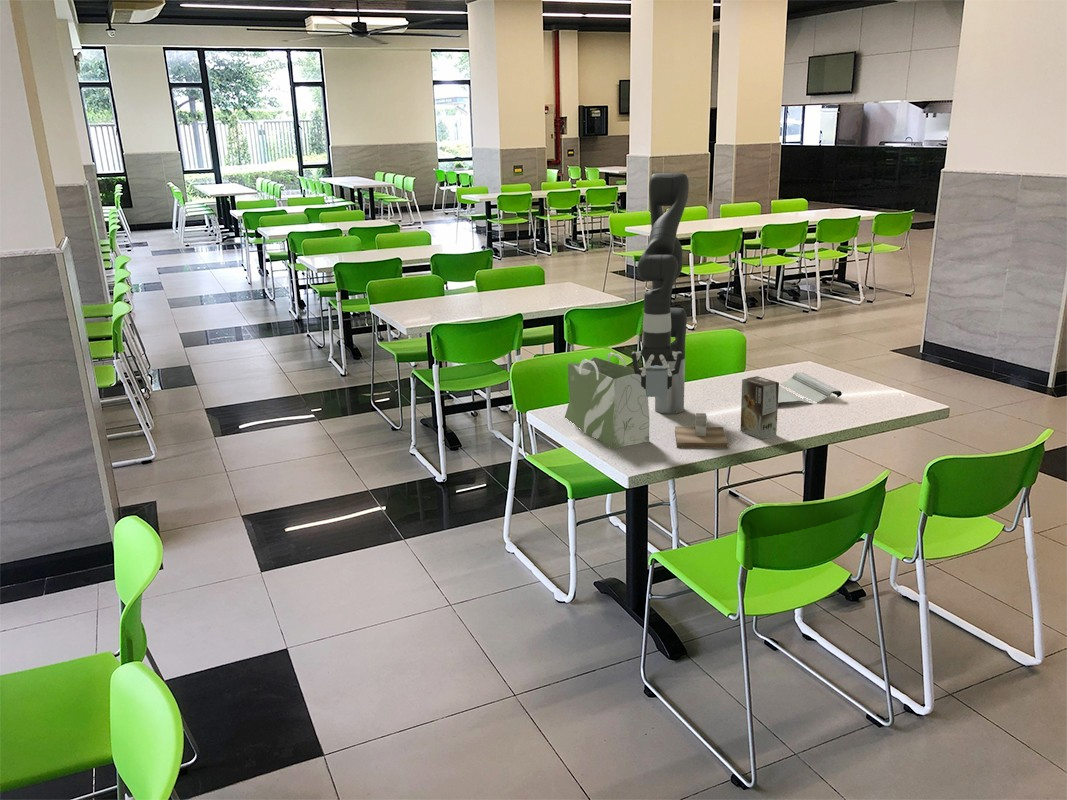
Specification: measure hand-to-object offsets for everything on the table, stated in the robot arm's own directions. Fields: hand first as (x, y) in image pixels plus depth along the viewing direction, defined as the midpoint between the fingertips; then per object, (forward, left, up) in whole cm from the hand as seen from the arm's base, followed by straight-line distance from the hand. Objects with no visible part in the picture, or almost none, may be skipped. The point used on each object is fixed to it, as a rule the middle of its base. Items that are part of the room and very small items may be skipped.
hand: (656, 388), depth 227 cm
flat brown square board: (-7, +13, -17) cm, 23 cm away
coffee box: (-13, +30, -18) cm, 37 cm away
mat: (-53, +46, -18) cm, 72 cm away
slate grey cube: (0, 0, -2) cm, 2 cm away
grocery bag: (-15, -15, -18) cm, 28 cm away
